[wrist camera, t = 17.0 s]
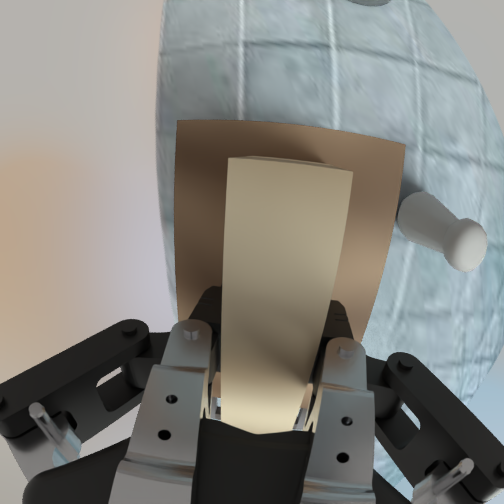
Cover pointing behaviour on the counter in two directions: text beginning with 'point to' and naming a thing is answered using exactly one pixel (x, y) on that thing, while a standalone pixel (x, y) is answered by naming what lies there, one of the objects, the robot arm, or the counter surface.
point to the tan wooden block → (279, 250)
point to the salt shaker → (442, 231)
